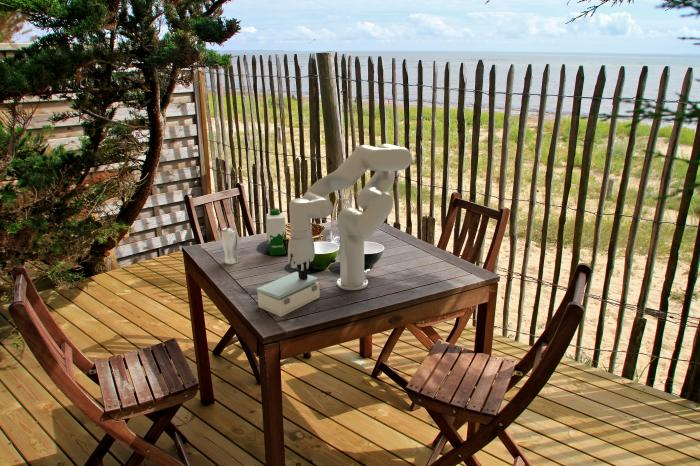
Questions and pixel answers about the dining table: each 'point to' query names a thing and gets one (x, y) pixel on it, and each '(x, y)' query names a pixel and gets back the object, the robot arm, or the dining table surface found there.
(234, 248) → the beer glass
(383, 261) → the dining table surface
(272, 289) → the lid
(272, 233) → the milk carton
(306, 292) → the box
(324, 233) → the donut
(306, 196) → the robot arm
